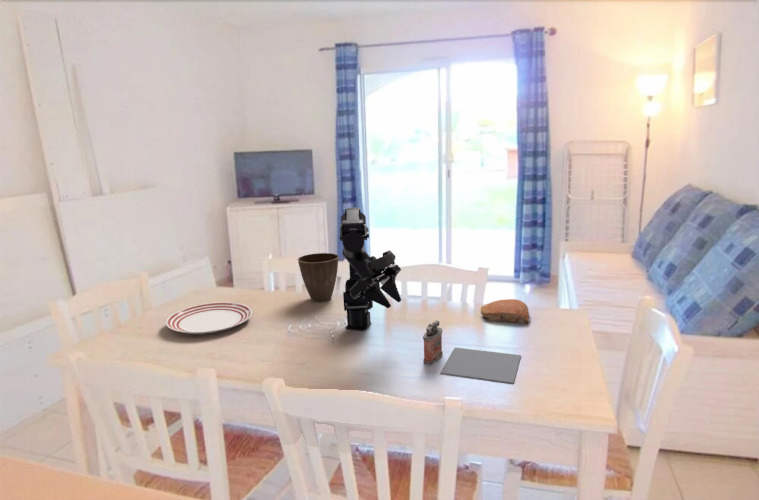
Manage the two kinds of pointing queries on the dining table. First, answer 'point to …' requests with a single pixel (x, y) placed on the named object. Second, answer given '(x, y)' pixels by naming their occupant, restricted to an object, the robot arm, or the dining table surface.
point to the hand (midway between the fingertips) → (395, 304)
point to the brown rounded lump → (506, 311)
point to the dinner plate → (209, 317)
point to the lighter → (432, 343)
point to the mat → (482, 365)
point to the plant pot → (319, 274)
